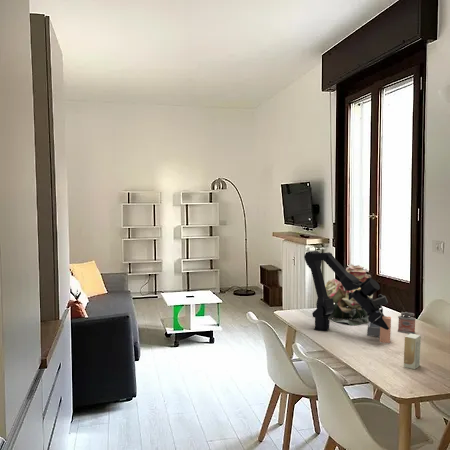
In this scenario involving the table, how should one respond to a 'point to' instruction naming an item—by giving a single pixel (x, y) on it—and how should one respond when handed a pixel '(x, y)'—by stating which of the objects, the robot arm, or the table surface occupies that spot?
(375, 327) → the well
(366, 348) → the table surface
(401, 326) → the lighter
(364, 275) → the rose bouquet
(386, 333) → the terracotta block
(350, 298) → the robot arm
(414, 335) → the skincare box
